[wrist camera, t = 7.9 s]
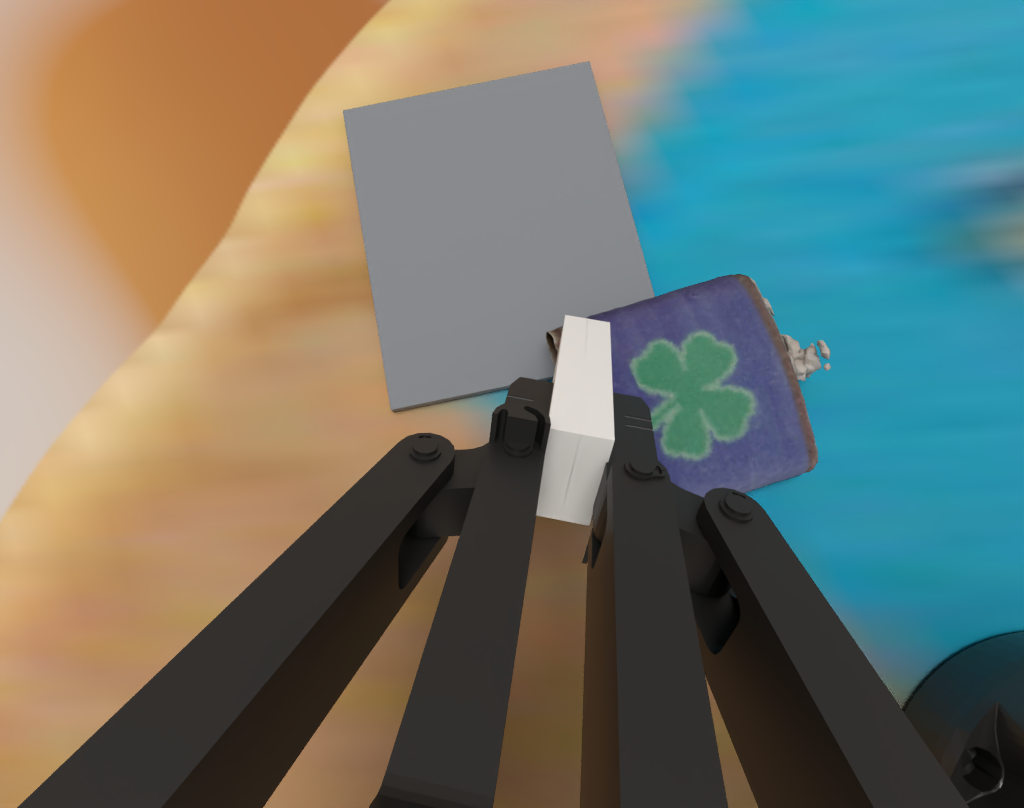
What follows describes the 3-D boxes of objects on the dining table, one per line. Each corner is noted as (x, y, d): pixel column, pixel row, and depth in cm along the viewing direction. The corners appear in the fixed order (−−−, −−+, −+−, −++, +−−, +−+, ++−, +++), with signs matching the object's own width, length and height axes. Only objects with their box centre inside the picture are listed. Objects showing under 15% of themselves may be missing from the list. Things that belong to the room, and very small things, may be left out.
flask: (607, 531, 22) (833, 457, 22) (622, 545, 19) (883, 458, 19) (542, 337, 22) (761, 267, 23) (546, 320, 19) (797, 240, 20)
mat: (666, 355, 23) (670, 352, 22) (394, 411, 23) (390, 409, 22) (588, 71, 26) (589, 61, 25) (347, 119, 26) (342, 110, 25)
